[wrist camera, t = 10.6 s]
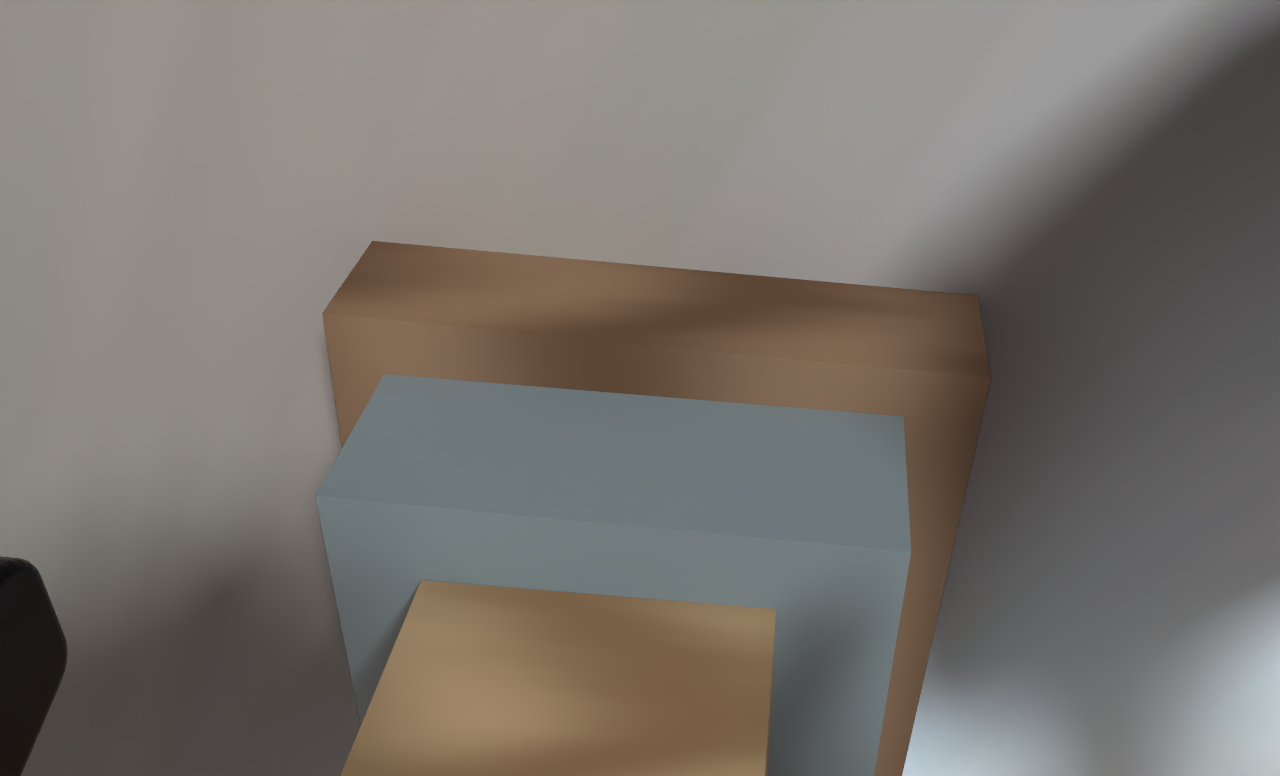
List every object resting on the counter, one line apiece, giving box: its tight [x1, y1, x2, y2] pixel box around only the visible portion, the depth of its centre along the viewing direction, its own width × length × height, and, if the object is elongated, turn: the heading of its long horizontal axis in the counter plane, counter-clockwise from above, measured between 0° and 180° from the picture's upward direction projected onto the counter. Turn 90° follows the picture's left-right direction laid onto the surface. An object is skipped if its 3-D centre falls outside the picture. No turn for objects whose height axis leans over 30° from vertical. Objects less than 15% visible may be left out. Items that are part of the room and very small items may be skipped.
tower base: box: [322, 241, 991, 776], centre depth 22 cm, size 10×10×3 cm
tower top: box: [315, 374, 911, 776], centre depth 20 cm, size 8×8×3 cm
